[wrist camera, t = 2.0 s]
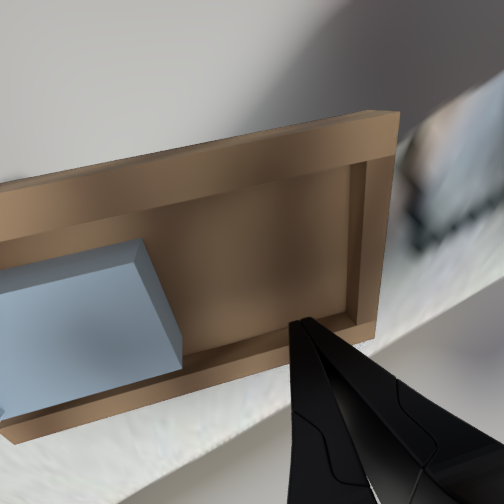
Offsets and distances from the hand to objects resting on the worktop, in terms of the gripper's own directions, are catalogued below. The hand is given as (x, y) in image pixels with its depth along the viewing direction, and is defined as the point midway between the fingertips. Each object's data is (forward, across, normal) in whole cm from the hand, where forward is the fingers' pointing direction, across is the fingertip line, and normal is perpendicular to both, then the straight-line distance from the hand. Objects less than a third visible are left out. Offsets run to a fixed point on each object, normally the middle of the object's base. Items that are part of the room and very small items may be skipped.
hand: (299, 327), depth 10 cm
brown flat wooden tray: (+5, +5, 0) cm, 7 cm away
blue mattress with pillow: (+4, +10, 0) cm, 10 cm away
